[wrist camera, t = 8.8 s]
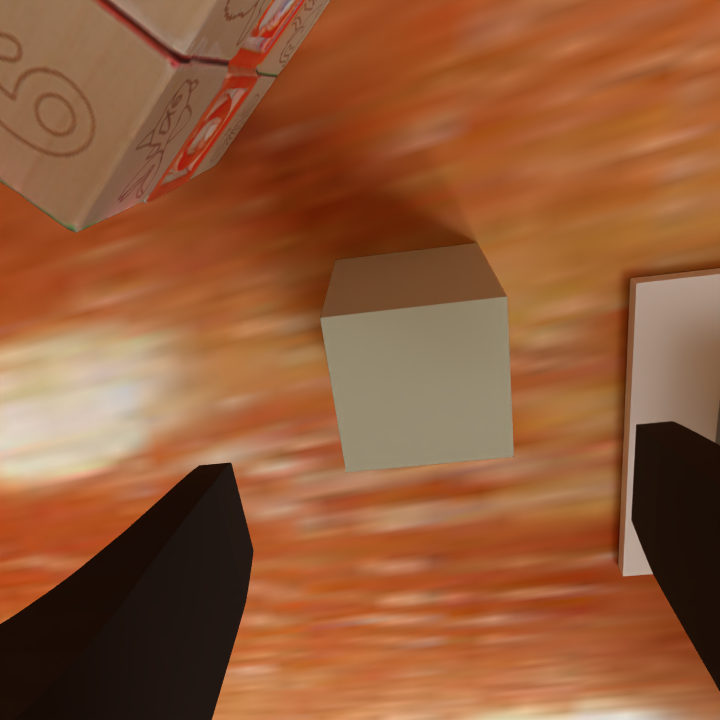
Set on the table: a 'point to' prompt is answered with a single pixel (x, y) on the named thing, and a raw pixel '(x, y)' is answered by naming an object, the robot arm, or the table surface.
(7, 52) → the stack of blocks
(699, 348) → the white flat square plate
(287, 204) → the table surface
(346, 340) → the sage block
